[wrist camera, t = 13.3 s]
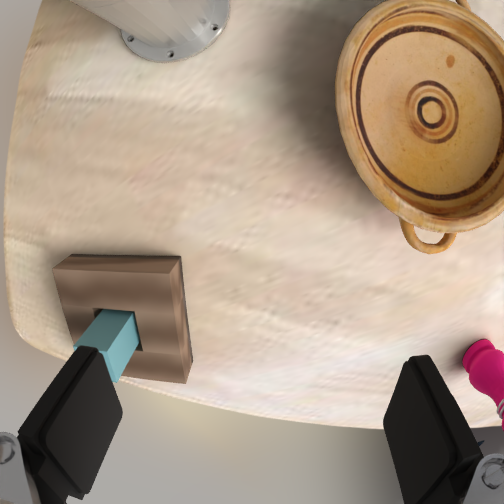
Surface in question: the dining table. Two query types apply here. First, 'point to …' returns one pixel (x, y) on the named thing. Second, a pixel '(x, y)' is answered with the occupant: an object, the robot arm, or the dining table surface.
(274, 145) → the dining table surface
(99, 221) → the dining table surface
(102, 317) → the peg
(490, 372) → the pepper mill
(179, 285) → the bore block
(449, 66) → the ceramic bowl
